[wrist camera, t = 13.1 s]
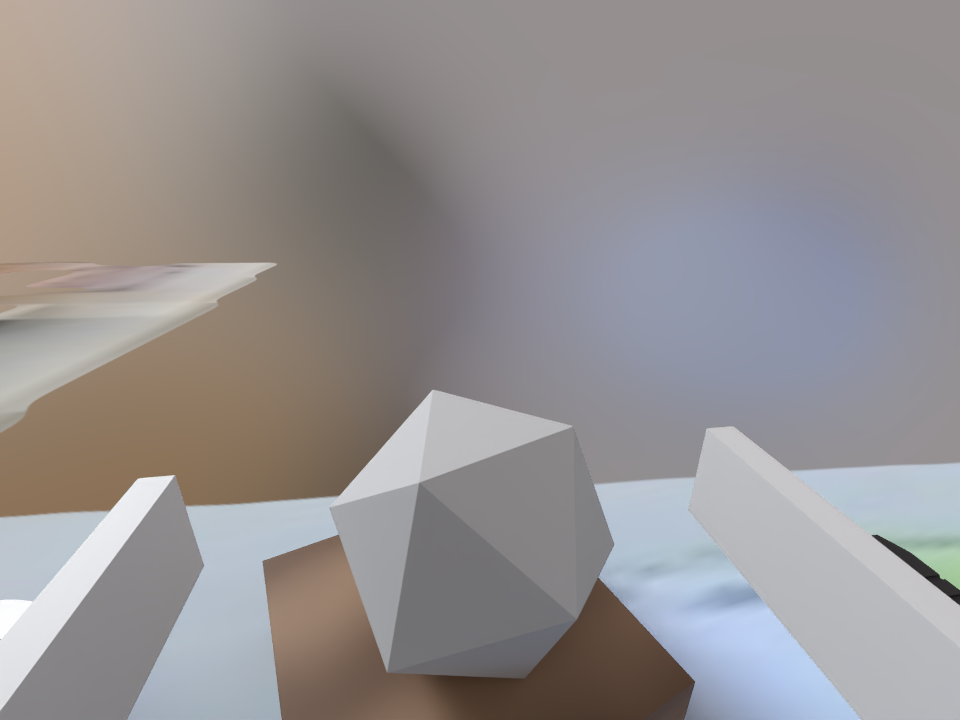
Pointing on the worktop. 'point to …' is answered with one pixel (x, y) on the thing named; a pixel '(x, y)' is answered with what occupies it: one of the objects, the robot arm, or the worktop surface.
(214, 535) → the worktop surface
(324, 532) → the worktop surface
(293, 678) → the plinth
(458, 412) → the die
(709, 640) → the worktop surface
